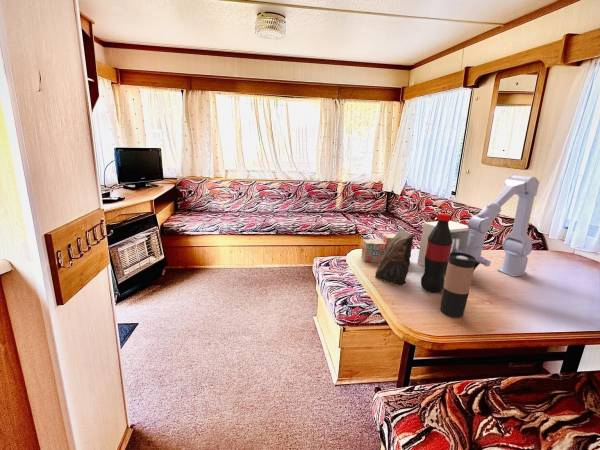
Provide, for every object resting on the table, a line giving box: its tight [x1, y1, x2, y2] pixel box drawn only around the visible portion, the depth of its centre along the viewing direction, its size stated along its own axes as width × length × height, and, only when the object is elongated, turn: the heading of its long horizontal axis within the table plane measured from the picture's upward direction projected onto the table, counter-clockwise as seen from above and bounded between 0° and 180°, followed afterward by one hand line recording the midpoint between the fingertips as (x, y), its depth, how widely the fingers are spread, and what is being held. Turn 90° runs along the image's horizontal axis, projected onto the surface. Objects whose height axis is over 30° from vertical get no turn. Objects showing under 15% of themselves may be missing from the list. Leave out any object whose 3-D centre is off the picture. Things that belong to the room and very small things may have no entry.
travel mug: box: [439, 252, 476, 319], centre depth 104 cm, size 8×8×20 cm
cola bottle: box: [420, 212, 453, 294], centre depth 119 cm, size 8×8×30 cm
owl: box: [374, 228, 415, 286], centre depth 128 cm, size 13×13×20 cm
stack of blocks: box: [360, 233, 414, 263], centre depth 149 cm, size 21×6×12 cm, turn 93°
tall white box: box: [417, 220, 469, 268], centre depth 144 cm, size 16×12×20 cm
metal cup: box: [450, 235, 460, 253], centre depth 142 cm, size 7×7×15 cm
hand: (468, 275), depth 134 cm, fingers closed
